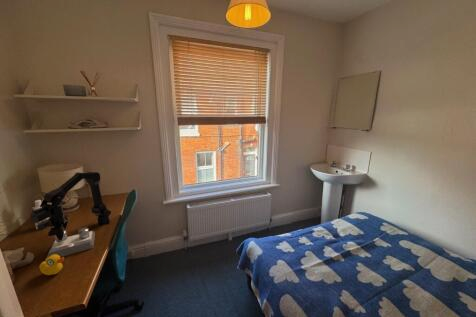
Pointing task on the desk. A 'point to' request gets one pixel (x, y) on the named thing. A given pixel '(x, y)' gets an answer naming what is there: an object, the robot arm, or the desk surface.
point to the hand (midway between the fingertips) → (61, 237)
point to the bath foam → (37, 204)
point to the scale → (72, 245)
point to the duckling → (52, 265)
